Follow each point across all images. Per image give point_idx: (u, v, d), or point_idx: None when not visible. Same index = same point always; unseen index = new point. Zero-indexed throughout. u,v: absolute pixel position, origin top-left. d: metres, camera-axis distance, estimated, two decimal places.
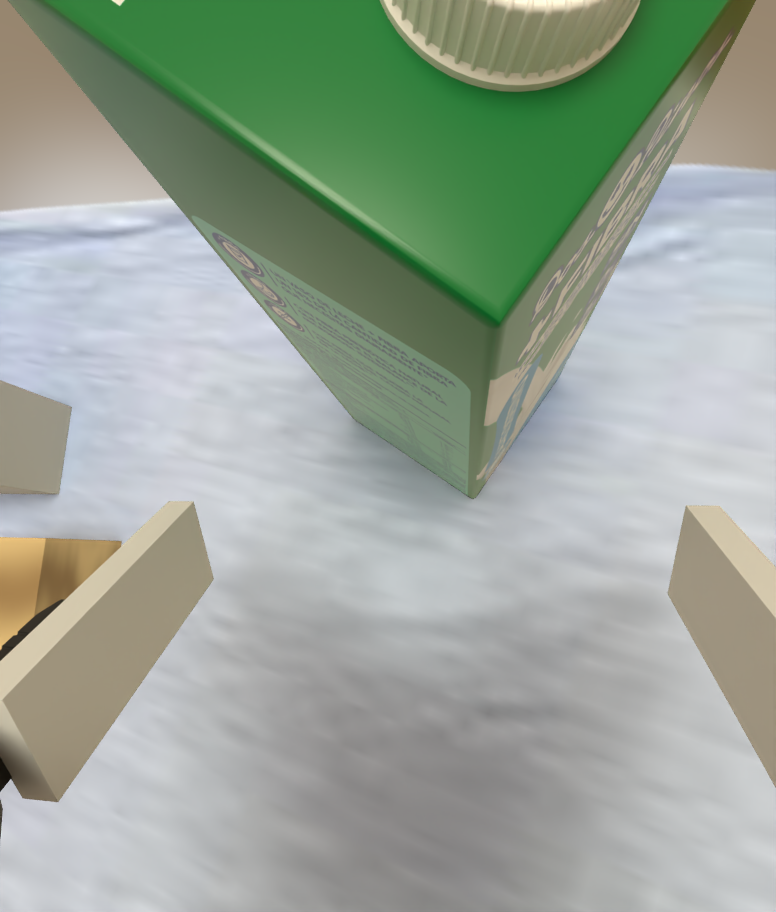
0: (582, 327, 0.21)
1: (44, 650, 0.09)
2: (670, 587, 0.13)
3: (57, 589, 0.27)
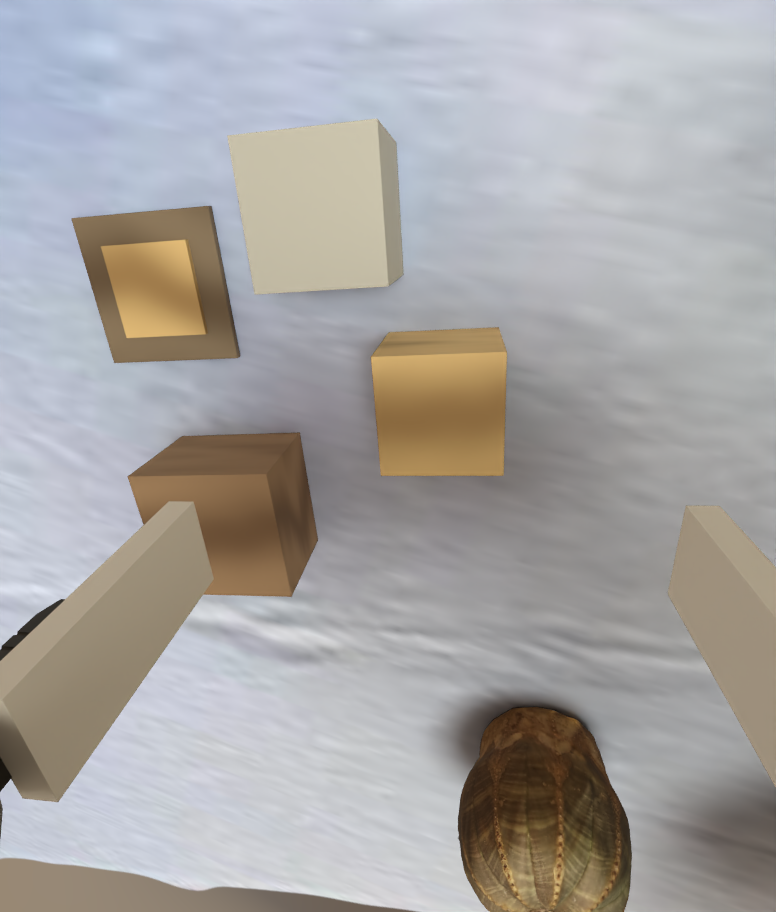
0: None
1: (44, 650, 0.09)
2: (670, 587, 0.13)
3: None
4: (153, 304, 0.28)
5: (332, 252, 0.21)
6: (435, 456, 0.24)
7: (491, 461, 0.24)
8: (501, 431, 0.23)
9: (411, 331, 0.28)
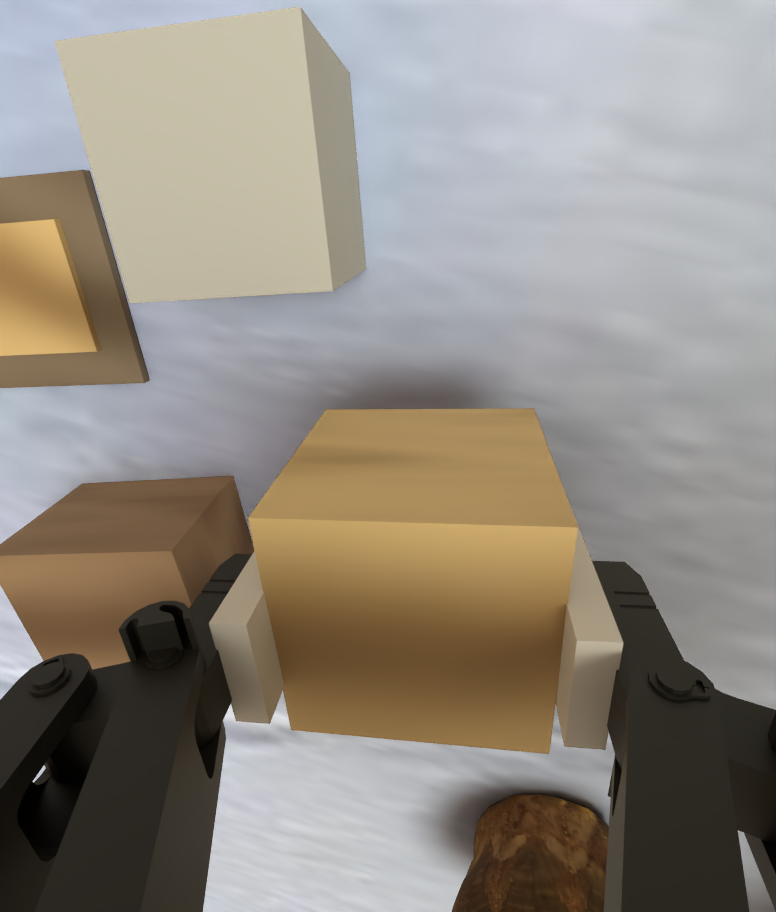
0: None
1: (260, 588, 0.10)
2: None
3: None
4: (21, 310, 0.20)
5: (242, 238, 0.13)
6: (403, 709, 0.11)
7: (524, 728, 0.11)
8: (551, 680, 0.10)
9: (367, 410, 0.14)
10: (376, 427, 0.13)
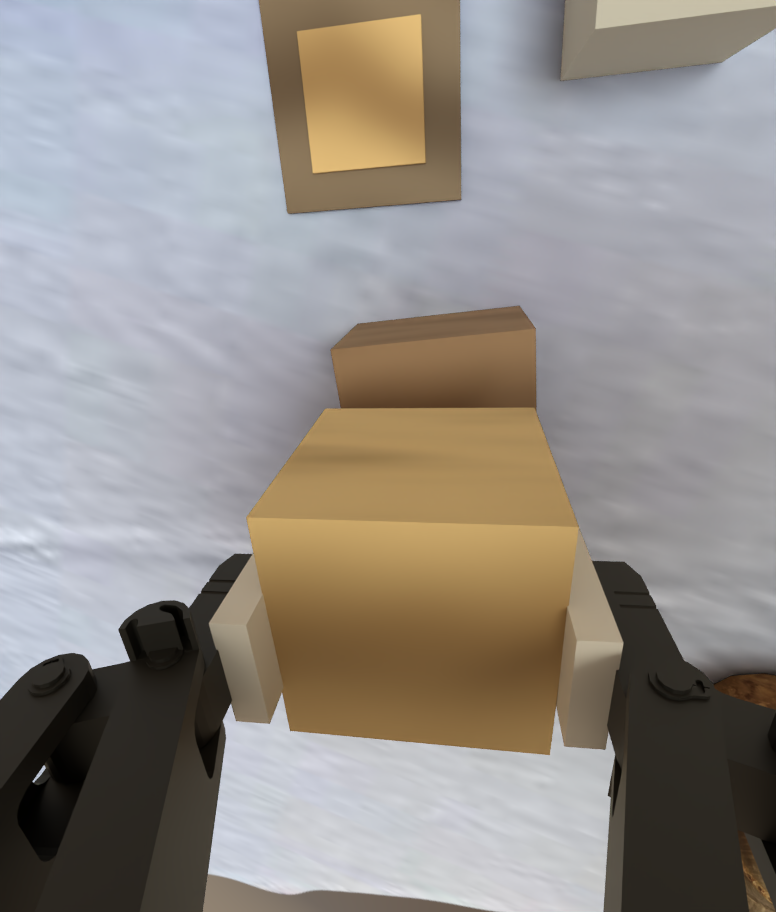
0: None
1: (260, 588, 0.10)
2: None
3: None
4: (358, 119, 0.21)
5: None
6: (403, 710, 0.11)
7: (524, 729, 0.11)
8: (551, 681, 0.10)
9: (366, 410, 0.14)
10: (376, 426, 0.13)
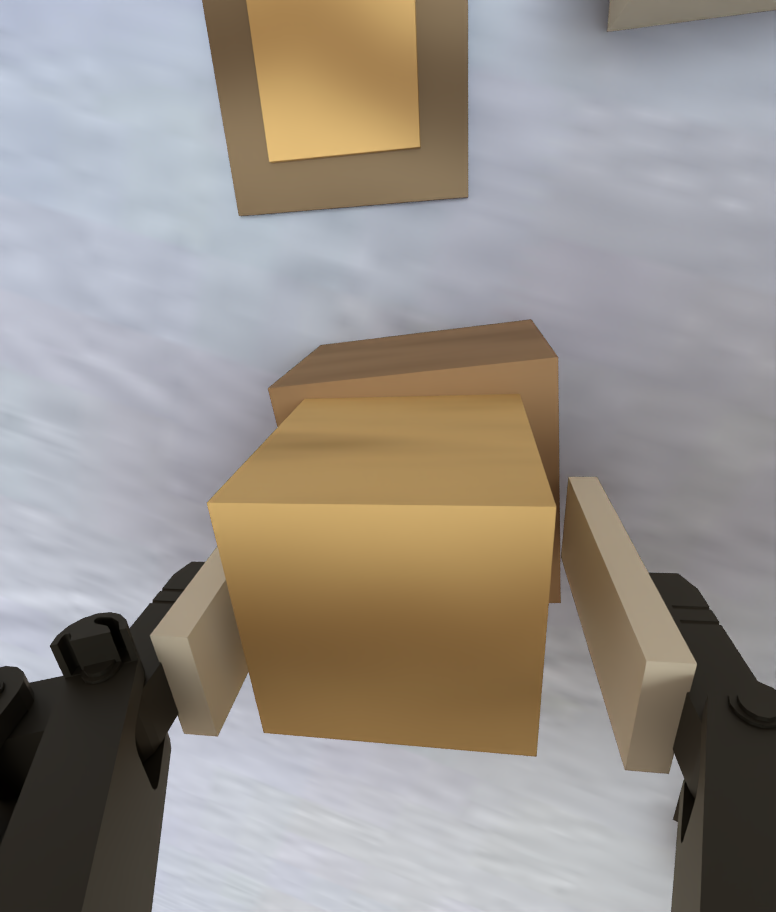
0: None
1: (207, 598, 0.10)
2: (562, 551, 0.15)
3: None
4: (328, 87, 0.15)
5: None
6: (380, 709, 0.10)
7: (509, 729, 0.10)
8: (535, 675, 0.09)
9: (346, 399, 0.14)
10: (354, 414, 0.13)
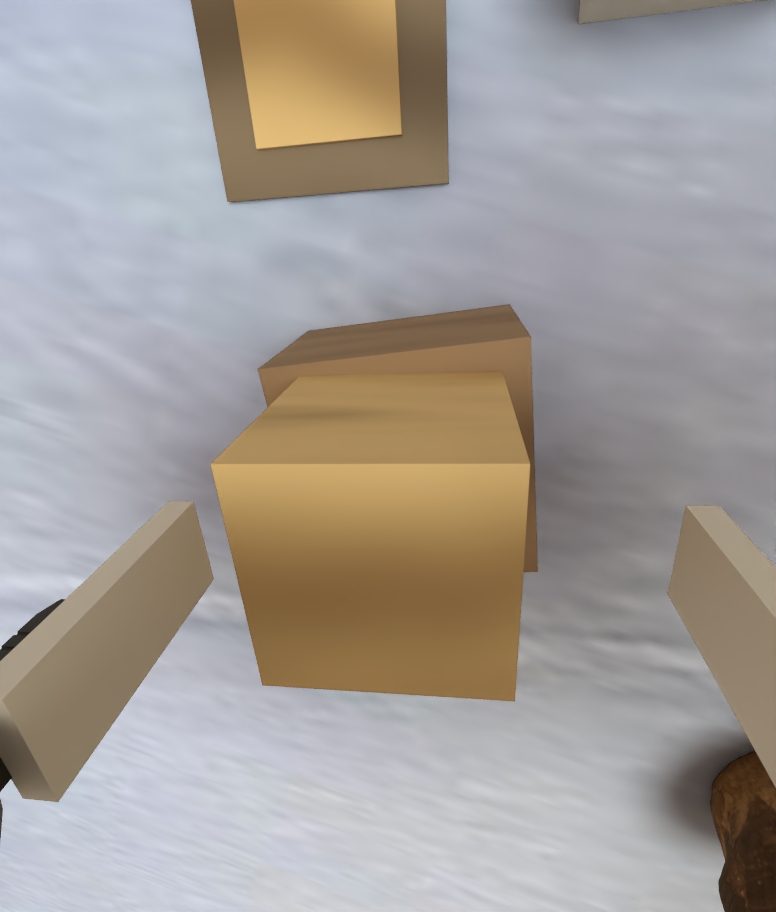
0: None
1: (44, 650, 0.09)
2: (670, 587, 0.13)
3: None
4: (313, 76, 0.16)
5: None
6: (371, 659, 0.11)
7: (489, 675, 0.11)
8: (512, 623, 0.10)
9: (339, 377, 0.15)
10: (346, 389, 0.14)
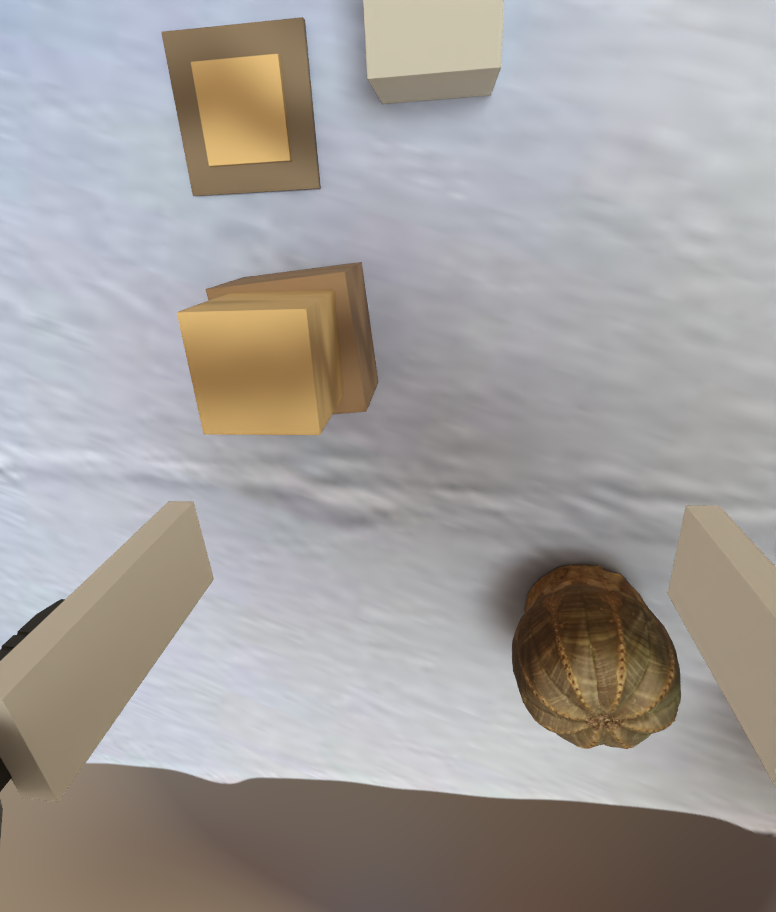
0: None
1: (44, 650, 0.09)
2: (670, 587, 0.13)
3: (319, 361, 0.24)
4: (239, 127, 0.29)
5: (449, 30, 0.22)
6: (253, 414, 0.24)
7: (306, 420, 0.24)
8: (312, 390, 0.23)
9: None
10: (250, 296, 0.26)
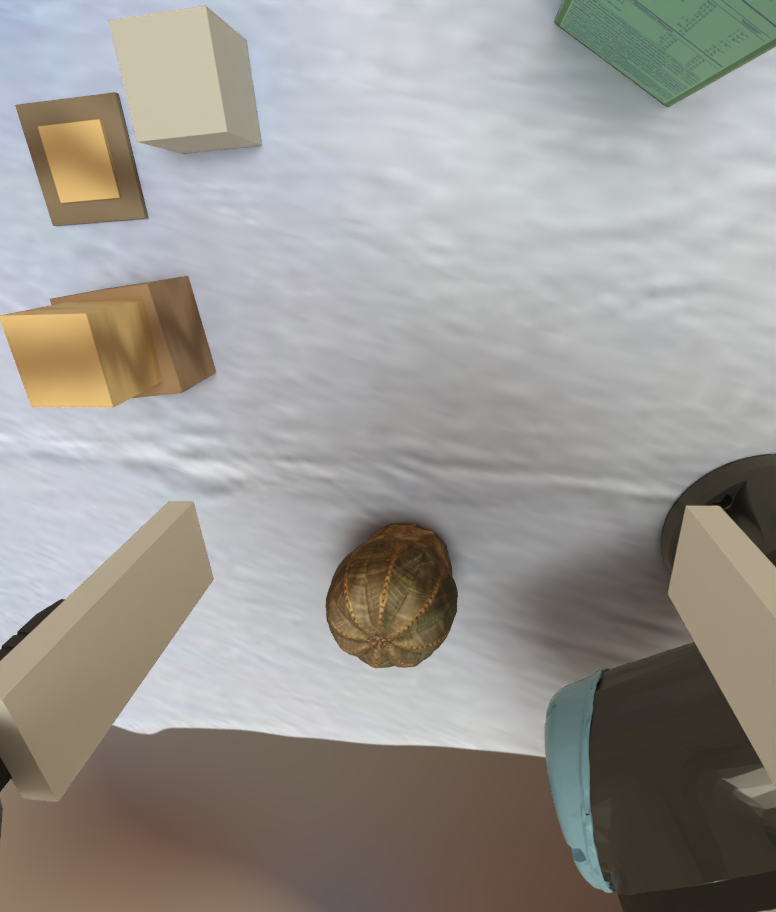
0: None
1: (44, 650, 0.09)
2: (670, 587, 0.13)
3: (111, 352, 0.32)
4: (79, 173, 0.37)
5: (187, 106, 0.30)
6: (63, 392, 0.33)
7: (101, 396, 0.32)
8: (101, 373, 0.32)
9: None
10: (75, 304, 0.35)
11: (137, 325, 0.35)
